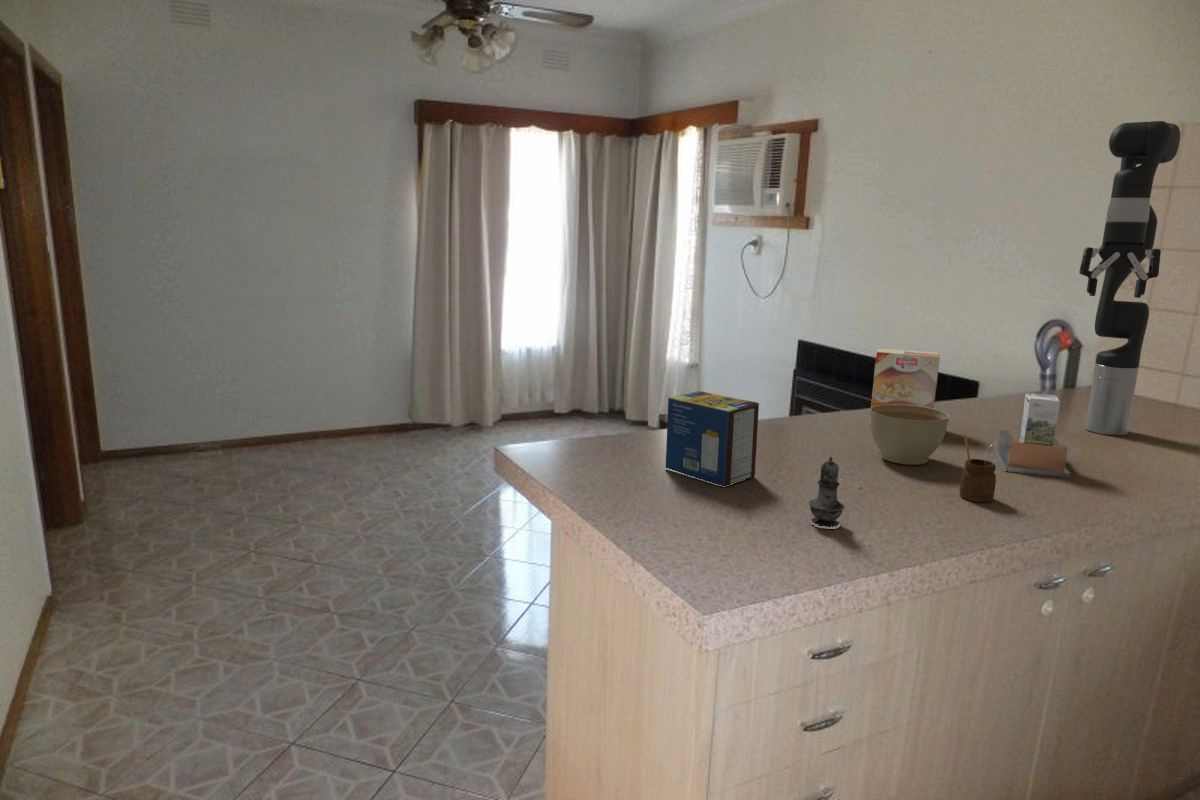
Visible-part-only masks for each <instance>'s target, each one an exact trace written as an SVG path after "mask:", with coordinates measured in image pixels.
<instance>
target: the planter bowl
mask: <svg viewBox="0 0 1200 800" xmlns="http://www.w3.org/2000/svg"><path fill="white" fill-rule="evenodd" d="M869 414H870V415H871V419H870V418H869V422H871V426H870V429H871V434H872V438H873V440H874V442H875V444H876V446H877V447H878V449H879V451H880V456H881V458H882V459H883V460H885V461H888V462H891V463H894V464H897V463H898V464H901V465H910V466H912V465H913V466H914V465H915V466H917V465H924V464H926V463H928V460H929V458H930V457H931V455H932V454H934V453H935V452H936V450H937V449H938V448H939V446H940V445H941V443H942V441H943V440H944V438H945V435H946V432H947V427H948V422H949V420H950V415H949V414H948V413H947V412H945V411H942V410H939V409H935V408H934V409H932V408H927V407H920V406H911V405H891V404H890V405H877V406H873V407H871V406H870V409H869ZM870 415H869V416H870Z"/></svg>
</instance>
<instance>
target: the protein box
mask: <svg viewBox="0 0 1200 800" xmlns="http://www.w3.org/2000/svg"><path fill="white" fill-rule="evenodd" d="M759 406H760V403H759V402H755V401H751V400H745V399H741V398H735V397H731V396H726V395H721V394H715V393H710V392H705V391H702V390H701V391H700V390H698V391H694V392H687V393H684V394H680V395H674V396H669V397H668V400H667V422H666V423H667V425H666V447H665V448H666V449H665V467H666V468H669V469H672V470H675V471H678V472H681V473H684V474H687V475H690V476H694V477H696V478H699V479H703V480H705V481H709V482H712V483H715V484H718V485H722V486H727V485H730V484H732V483H735V482H738V481H741V480H744V479H748V478H751V477H754V476H755V477H756V458H757V445H758V444H757V443H758V442H757V441H758V425H759V409H760V408H759ZM755 477H754V478H755ZM751 479H752V478H751ZM748 480H749V479H748Z"/></svg>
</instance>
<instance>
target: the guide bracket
mask: <svg viewBox="0 0 1200 800" xmlns="http://www.w3.org/2000/svg"><path fill="white" fill-rule="evenodd" d="M998 438H999V439H998V444H997V445H995V444H994V445H993V449H994V451H993V452H994V454H995V455H997V456H996V458H998V459H997V460H999V463H1000V462H1001V463H1000V464H1002V465H1001V466H1002V469H1003V470H1004V472H1006V471H1008V472H1007V473H1015V472H1017V473H1016V474H1025V473H1026V474H1027V475H1034V474H1037V475H1036V476H1043V475H1045V477H1056V478H1062V477H1063V479H1070V478H1071V473H1070V471H1069V470H1068V469H1067V468H1066V464H1067V463H1066V462H1067V457H1068V456H1067V455H1068V450H1069V447H1068V446H1067V445H1061V443H1060V442H1059V441H1058V440H1057V439H1056V437H1054V443H1053V445H1051V444H1041V443H1030V442H1020V441H1019V440H1018V441H1016V440H1015V439H1014V438H1013V436H1012V435H1011V433H1010V432H1009V431H1008V430H1006V429H1000V431H999V437H998ZM994 446H995V448H994ZM997 446H998V447H997ZM999 447H1000V448H999ZM998 450H999V451H998ZM997 452H998V454H997ZM999 453H1000V454H999ZM998 456H999V457H998Z"/></svg>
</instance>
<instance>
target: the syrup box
mask: <svg viewBox="0 0 1200 800" xmlns="http://www.w3.org/2000/svg"><path fill="white" fill-rule="evenodd" d="M1023 403H1024V404H1023V409H1022V418H1021V422H1020V423H1021V424H1020V429H1019V430H1020V431H1019V436H1018V441H1020V442H1030V443H1041V444H1051V445H1053V443H1054V438H1056V437H1055V435H1056V429H1057V425H1058V424H1057V423H1058V419H1059V414H1060V413H1059V410H1060V406H1061V405H1060V404H1061V401H1060V399H1059V397H1057V396H1056V395H1053V394H1052V395H1051V394H1040V393H1039V394H1038V393H1025V396H1024V402H1023Z"/></svg>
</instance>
